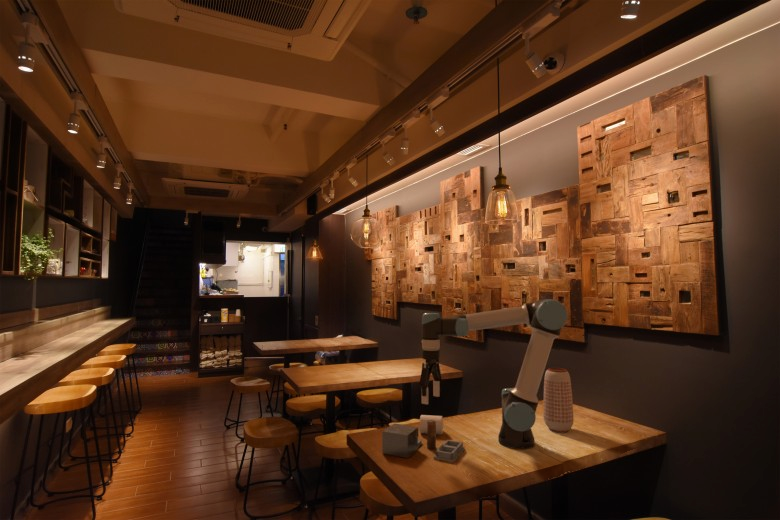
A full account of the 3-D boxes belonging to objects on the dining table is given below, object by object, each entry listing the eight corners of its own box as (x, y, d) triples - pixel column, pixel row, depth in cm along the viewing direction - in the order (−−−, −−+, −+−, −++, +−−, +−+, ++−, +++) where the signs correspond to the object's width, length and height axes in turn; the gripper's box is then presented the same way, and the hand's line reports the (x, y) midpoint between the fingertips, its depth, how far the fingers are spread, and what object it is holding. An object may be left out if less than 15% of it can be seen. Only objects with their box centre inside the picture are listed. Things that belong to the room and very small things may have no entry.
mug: (441, 437, 191) (441, 419, 192) (419, 435, 193) (419, 417, 194) (443, 428, 203) (443, 411, 203) (422, 427, 205) (422, 410, 205)
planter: (543, 431, 198) (541, 370, 200) (544, 423, 210) (542, 366, 212) (574, 435, 193) (572, 372, 195) (573, 426, 205) (571, 367, 207)
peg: (437, 447, 179) (436, 420, 179) (434, 450, 176) (433, 423, 176) (429, 445, 180) (429, 419, 181) (425, 448, 177) (425, 421, 178)
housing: (418, 448, 177) (418, 427, 177) (407, 458, 167) (407, 435, 167) (394, 444, 182) (394, 423, 182) (382, 453, 172) (382, 431, 172)
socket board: (464, 449, 176) (464, 442, 176) (453, 462, 163) (453, 454, 163) (446, 446, 180) (446, 439, 180) (433, 459, 166) (433, 451, 167)
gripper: (432, 345, 194) (432, 392, 192) (411, 352, 171) (411, 406, 170) (448, 346, 190) (448, 394, 189) (428, 353, 168) (428, 408, 167)
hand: (430, 400), depth 179 cm, fingers open, 13 cm apart
